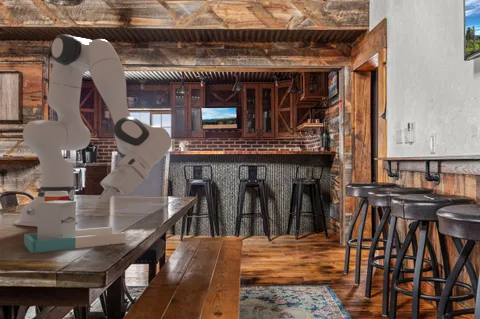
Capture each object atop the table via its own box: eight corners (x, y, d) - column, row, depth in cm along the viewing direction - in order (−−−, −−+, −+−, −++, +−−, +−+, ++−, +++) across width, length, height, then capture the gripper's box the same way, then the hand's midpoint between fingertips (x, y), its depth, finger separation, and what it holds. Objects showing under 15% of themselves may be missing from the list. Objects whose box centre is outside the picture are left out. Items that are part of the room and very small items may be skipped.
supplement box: (59, 249, 111) (59, 203, 111) (36, 247, 113) (36, 202, 113) (76, 244, 118) (76, 200, 118) (54, 242, 120) (55, 199, 120)
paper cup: (43, 232, 135) (44, 190, 135) (68, 231, 138) (69, 190, 138) (42, 237, 128) (42, 192, 128) (68, 235, 131) (69, 192, 131)
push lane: (31, 253, 106) (31, 241, 106) (24, 244, 117) (24, 234, 117) (125, 242, 120) (125, 232, 120) (111, 236, 131) (111, 226, 131)
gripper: (115, 160, 136) (84, 190, 130) (138, 161, 119) (103, 195, 113) (128, 173, 138) (98, 204, 133) (152, 176, 122) (119, 210, 116)
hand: (101, 200), depth 123 cm, fingers closed
